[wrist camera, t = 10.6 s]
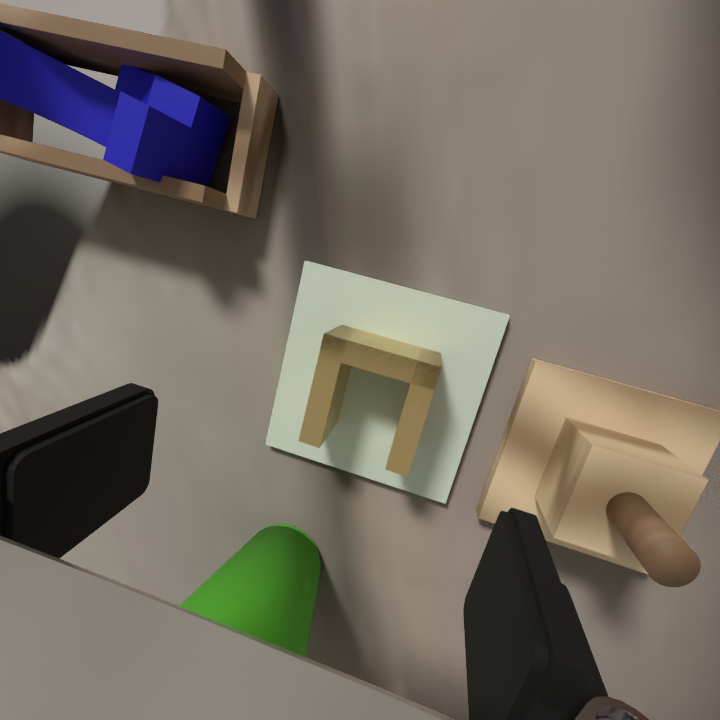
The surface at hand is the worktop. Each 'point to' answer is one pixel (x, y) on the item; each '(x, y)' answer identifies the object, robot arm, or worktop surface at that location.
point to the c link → (381, 358)
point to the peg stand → (605, 469)
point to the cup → (265, 588)
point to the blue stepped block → (119, 113)
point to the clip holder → (156, 56)
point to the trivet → (381, 393)
